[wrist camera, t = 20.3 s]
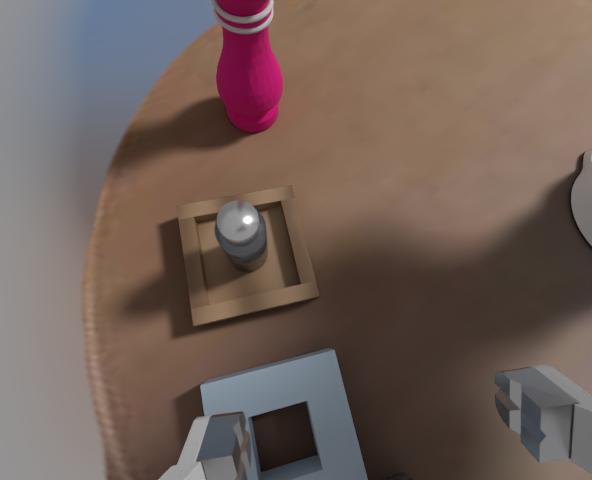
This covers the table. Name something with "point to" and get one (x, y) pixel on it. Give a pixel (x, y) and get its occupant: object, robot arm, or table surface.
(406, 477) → the housing
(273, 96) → the pepper mill
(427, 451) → the table surface
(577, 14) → the table surface
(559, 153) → the table surface
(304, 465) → the socket block
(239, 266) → the round-tipped peg
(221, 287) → the tray
